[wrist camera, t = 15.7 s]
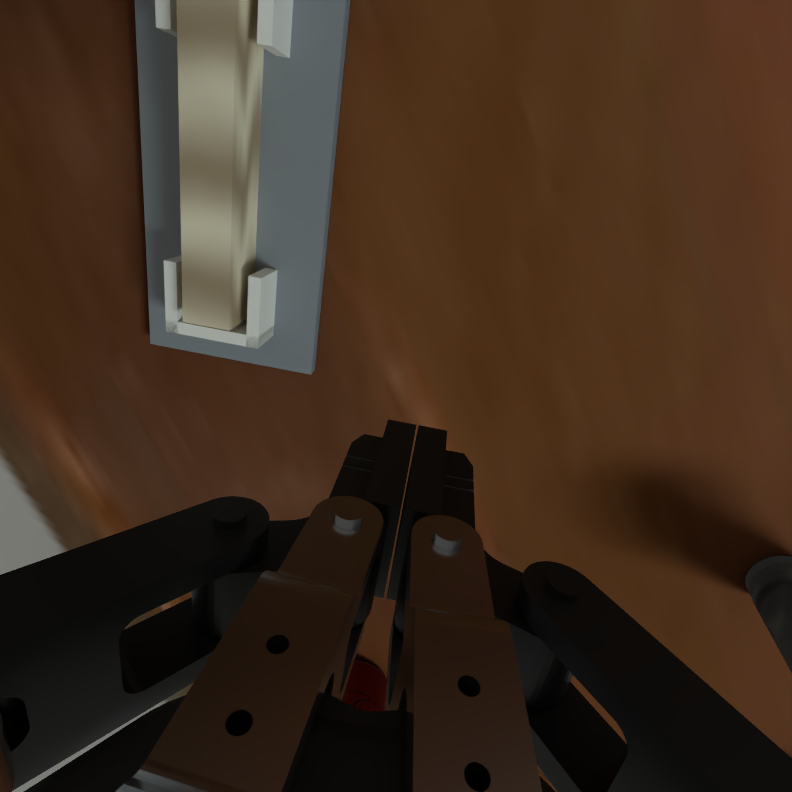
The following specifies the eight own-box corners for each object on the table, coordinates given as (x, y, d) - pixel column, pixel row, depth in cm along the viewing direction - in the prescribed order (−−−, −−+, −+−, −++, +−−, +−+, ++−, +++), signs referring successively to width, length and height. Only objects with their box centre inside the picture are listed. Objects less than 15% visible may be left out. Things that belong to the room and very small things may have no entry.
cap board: (139, -119, 27) (90, -163, 24) (358, -86, 27) (342, -126, 23) (157, 339, 38) (125, 357, 34) (314, 369, 38) (298, 390, 34)
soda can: (351, 714, 53) (322, 856, 42) (304, 671, 51) (260, 808, 40) (406, 690, 50) (390, 834, 39) (358, 643, 48) (328, 781, 37)
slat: (213, -12, 28) (175, -39, 24) (265, -4, 28) (236, -30, 24) (211, 306, 36) (182, 321, 32) (253, 314, 35) (229, 330, 32)
